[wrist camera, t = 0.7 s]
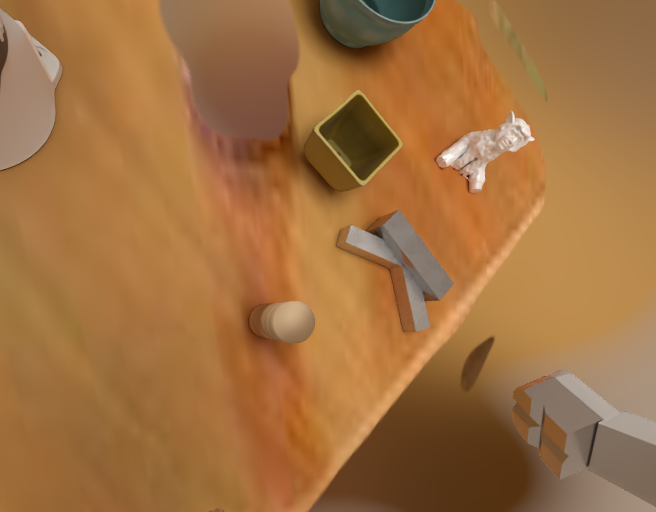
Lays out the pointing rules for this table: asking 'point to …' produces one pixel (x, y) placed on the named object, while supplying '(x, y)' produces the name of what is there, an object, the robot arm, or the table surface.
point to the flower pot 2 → (351, 144)
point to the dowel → (282, 321)
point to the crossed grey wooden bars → (401, 265)
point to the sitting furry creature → (484, 149)
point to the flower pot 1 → (371, 19)
